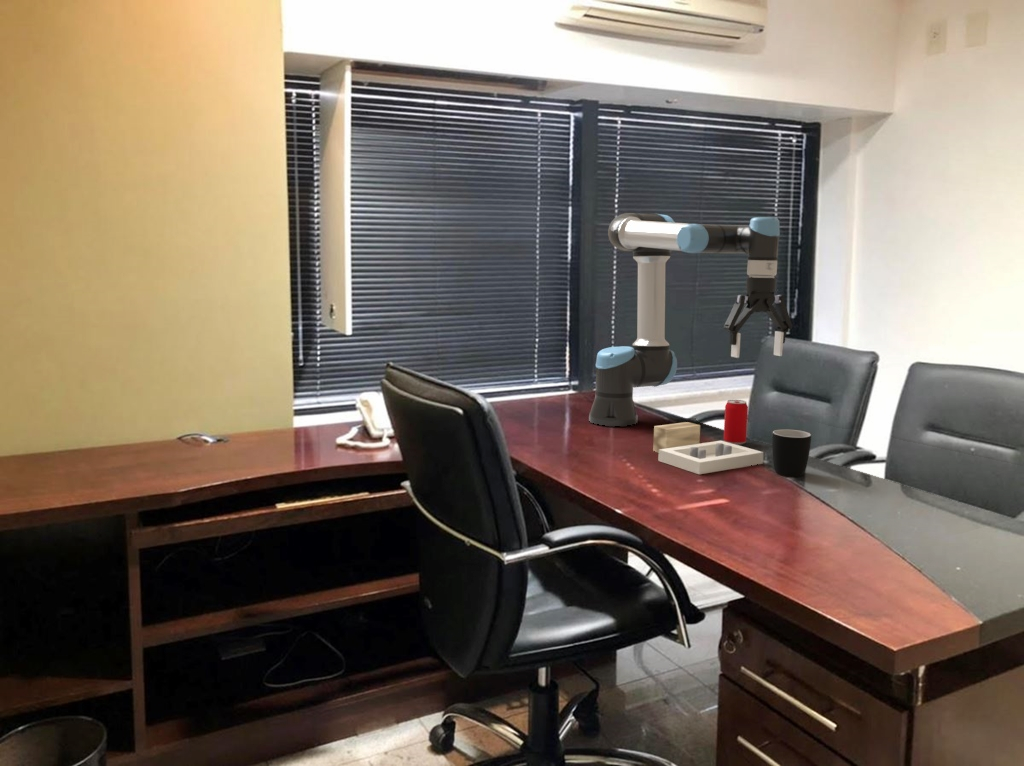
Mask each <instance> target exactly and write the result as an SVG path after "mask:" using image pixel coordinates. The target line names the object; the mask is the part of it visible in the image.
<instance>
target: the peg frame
mask: <svg viewBox="0 0 1024 766" xmlns="http://www.w3.org/2000/svg"><path fill="white" fill-rule="evenodd" d="M657 456H658V458H657V459H658V462H661V463H663V464H666V465H670V466H672V467H676V468H679V469H682V470H685V471H688V472H691V473H694V474H697V475H702V474H704V475H705V474H709V473H716V472H721V471H728V470H732V469H733V470H734V469H741V468H746V467H752V466H756V465H757V464H758V465H763V463H764V451H762V450H761V451H760V450H757V449H753V448H749V447H746V446H742V445H735V444H732V443H728V442H725V441H724V440H716V441H710V442H709V441H707V442H702V443H700V442H699V444H693V445H687V446H680V447H673V448H666V449H659V453H658V455H657ZM751 465H752V466H751Z"/></svg>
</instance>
